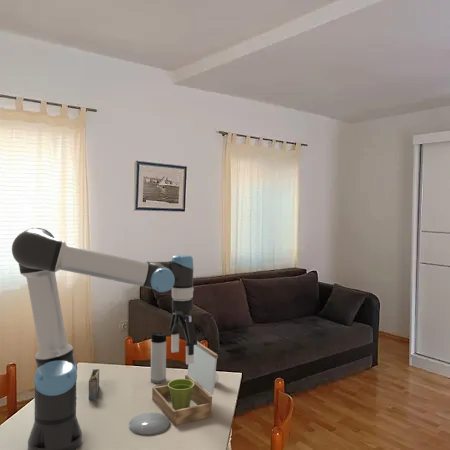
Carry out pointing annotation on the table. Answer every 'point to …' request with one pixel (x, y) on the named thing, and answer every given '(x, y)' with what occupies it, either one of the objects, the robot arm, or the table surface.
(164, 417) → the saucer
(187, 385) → the plant pot
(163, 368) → the travel mug
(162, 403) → the frame
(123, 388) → the table surface
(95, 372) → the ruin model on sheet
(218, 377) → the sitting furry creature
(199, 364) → the lid
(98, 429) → the table surface
